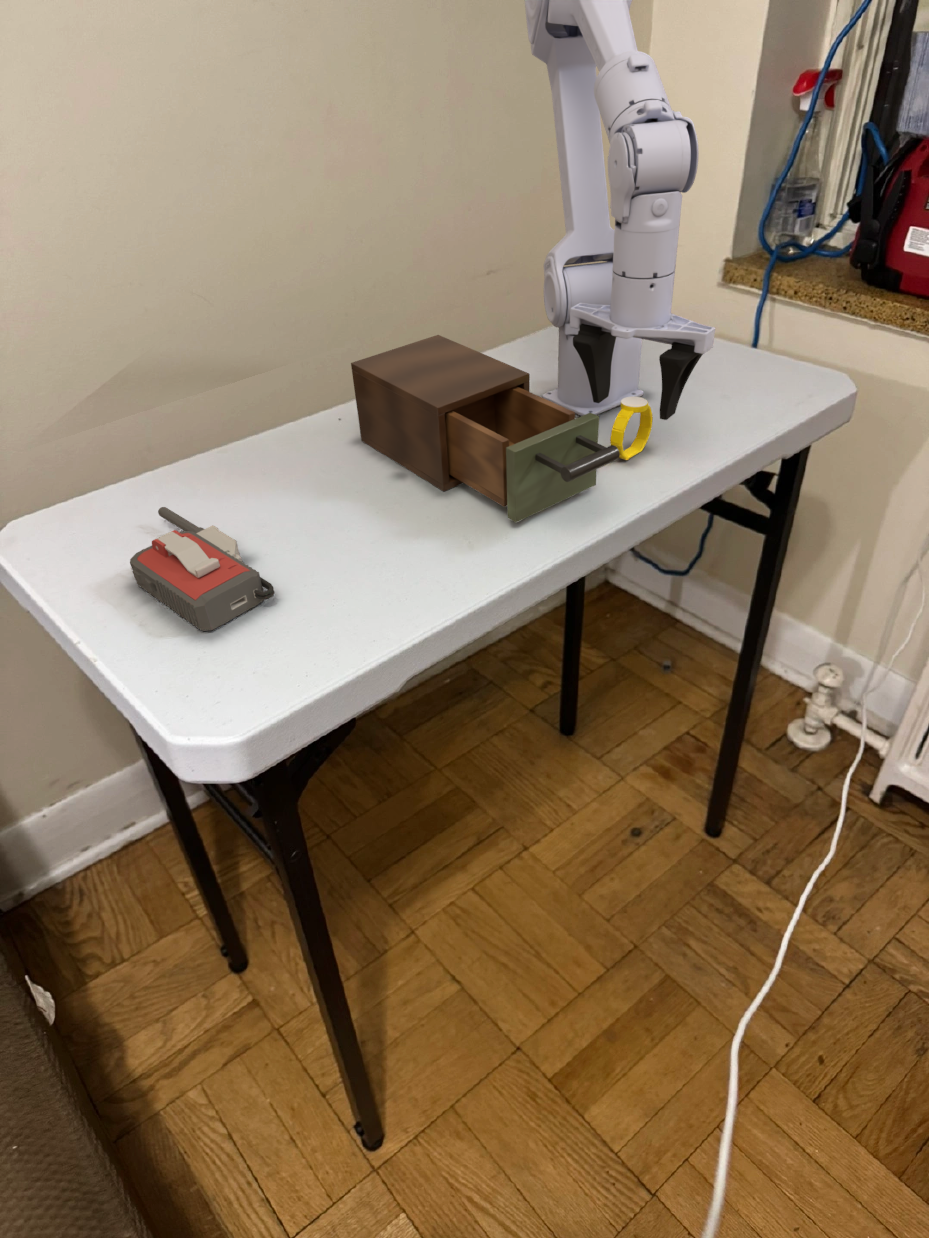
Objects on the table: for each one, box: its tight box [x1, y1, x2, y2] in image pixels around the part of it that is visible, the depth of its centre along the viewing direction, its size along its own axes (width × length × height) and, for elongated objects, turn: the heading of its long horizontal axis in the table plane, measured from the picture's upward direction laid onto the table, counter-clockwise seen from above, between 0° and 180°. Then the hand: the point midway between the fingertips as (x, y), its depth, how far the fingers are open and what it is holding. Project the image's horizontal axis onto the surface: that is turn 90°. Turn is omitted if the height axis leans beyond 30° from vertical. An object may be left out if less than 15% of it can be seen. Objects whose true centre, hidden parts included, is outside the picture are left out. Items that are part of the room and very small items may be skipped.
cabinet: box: [350, 334, 531, 492], centre depth 92 cm, size 16×12×9 cm
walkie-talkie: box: [129, 506, 275, 632], centre depth 77 cm, size 9×4×20 cm
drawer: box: [445, 386, 620, 524], centre depth 84 cm, size 19×10×7 cm, turn 38°
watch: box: [609, 396, 654, 461], centre depth 90 cm, size 6×3×6 cm, turn 139°
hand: (633, 407), depth 88 cm, fingers open, 7 cm apart
